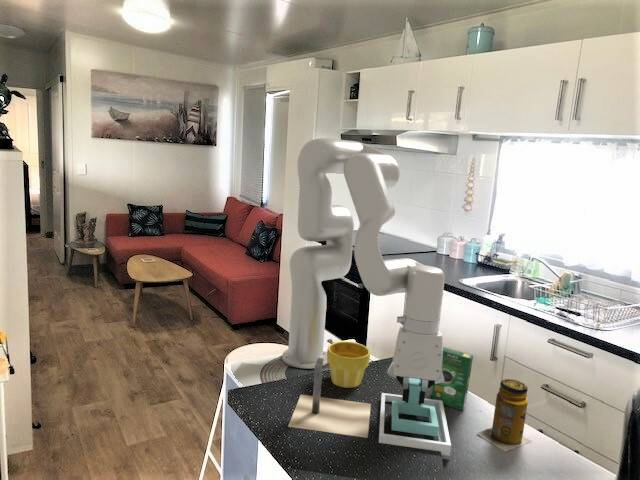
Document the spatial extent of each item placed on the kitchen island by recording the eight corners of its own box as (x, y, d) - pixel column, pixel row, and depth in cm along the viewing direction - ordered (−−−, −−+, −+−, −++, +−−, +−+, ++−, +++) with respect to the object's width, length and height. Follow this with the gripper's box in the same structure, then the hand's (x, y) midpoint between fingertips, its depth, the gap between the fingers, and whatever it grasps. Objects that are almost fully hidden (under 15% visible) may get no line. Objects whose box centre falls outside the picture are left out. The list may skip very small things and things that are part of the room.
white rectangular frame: (380, 404, 115) (381, 392, 114) (440, 413, 113) (442, 400, 113) (378, 449, 97) (379, 435, 97) (449, 459, 95) (451, 445, 95)
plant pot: (368, 398, 118) (371, 359, 116) (324, 394, 118) (327, 355, 116) (365, 379, 128) (368, 342, 126) (325, 375, 128) (328, 339, 127)
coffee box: (467, 406, 117) (474, 353, 115) (464, 411, 115) (471, 357, 112) (433, 396, 121) (439, 345, 119) (430, 401, 118) (436, 348, 116)
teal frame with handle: (391, 430, 99) (394, 401, 99) (391, 400, 113) (394, 375, 112) (437, 436, 98) (440, 407, 97) (432, 405, 111) (435, 380, 111)
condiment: (530, 441, 104) (539, 387, 102) (505, 452, 99) (513, 396, 97) (501, 424, 110) (508, 373, 108) (475, 434, 105) (482, 381, 103)
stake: (313, 406, 109) (317, 357, 107) (320, 407, 109) (324, 358, 107) (309, 417, 104) (313, 367, 103) (317, 418, 104) (321, 368, 102)
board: (300, 400, 114) (300, 394, 114) (370, 410, 112) (370, 403, 112) (287, 433, 101) (288, 426, 100) (367, 444, 99) (367, 437, 98)
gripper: (383, 325, 103) (375, 408, 106) (461, 334, 101) (451, 418, 104) (384, 314, 111) (376, 392, 114) (457, 322, 109) (447, 401, 112)
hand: (412, 404), depth 109 cm, fingers closed on teal frame with handle
